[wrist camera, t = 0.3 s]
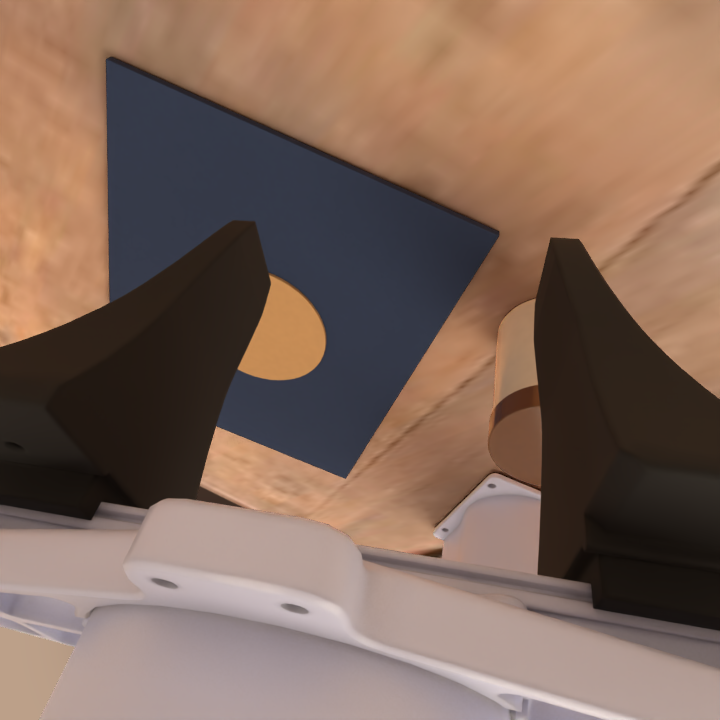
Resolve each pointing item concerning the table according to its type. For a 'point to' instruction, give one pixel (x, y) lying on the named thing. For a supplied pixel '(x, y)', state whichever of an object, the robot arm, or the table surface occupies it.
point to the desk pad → (288, 261)
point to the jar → (516, 399)
